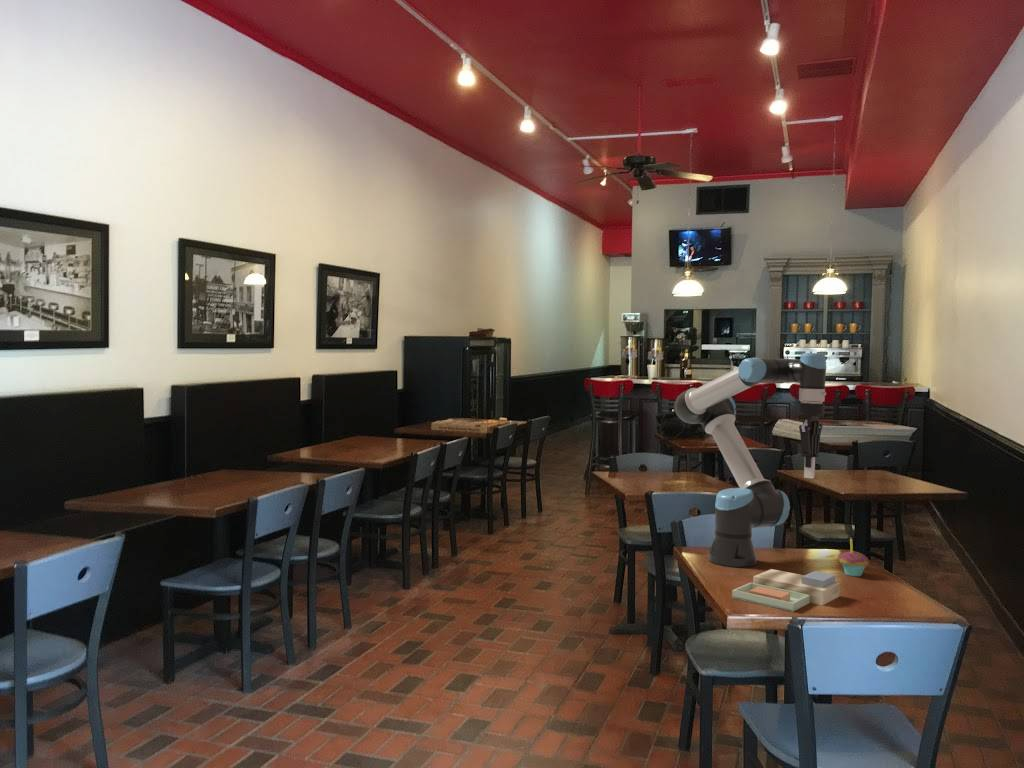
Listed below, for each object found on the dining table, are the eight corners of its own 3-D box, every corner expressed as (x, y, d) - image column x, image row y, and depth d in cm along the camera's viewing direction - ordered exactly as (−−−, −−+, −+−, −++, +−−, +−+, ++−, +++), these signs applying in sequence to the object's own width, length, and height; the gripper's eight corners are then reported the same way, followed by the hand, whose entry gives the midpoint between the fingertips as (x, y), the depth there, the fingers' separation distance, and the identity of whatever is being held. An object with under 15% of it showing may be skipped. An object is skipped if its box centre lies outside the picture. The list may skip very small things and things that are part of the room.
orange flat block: (758, 586, 230) (758, 593, 230) (749, 590, 226) (749, 597, 226) (790, 592, 224) (790, 600, 224) (781, 597, 220) (780, 604, 220)
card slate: (823, 588, 224) (823, 580, 224) (801, 583, 228) (801, 576, 228) (835, 582, 231) (835, 574, 231) (814, 577, 235) (814, 570, 235)
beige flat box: (752, 590, 235) (753, 576, 235) (771, 582, 244) (771, 568, 244) (822, 605, 222) (823, 590, 222) (839, 596, 231) (839, 582, 231)
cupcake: (859, 579, 250) (860, 540, 250) (832, 573, 256) (834, 535, 256) (873, 575, 255) (874, 536, 255) (847, 569, 262) (848, 532, 262)
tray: (732, 598, 227) (732, 590, 227) (750, 590, 235) (750, 582, 235) (792, 611, 216) (793, 603, 216) (809, 603, 224) (809, 595, 224)
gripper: (815, 403, 250) (812, 481, 250) (831, 402, 259) (829, 477, 260) (791, 402, 255) (788, 478, 255) (808, 401, 264) (805, 474, 265)
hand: (809, 477), depth 258 cm, fingers closed
